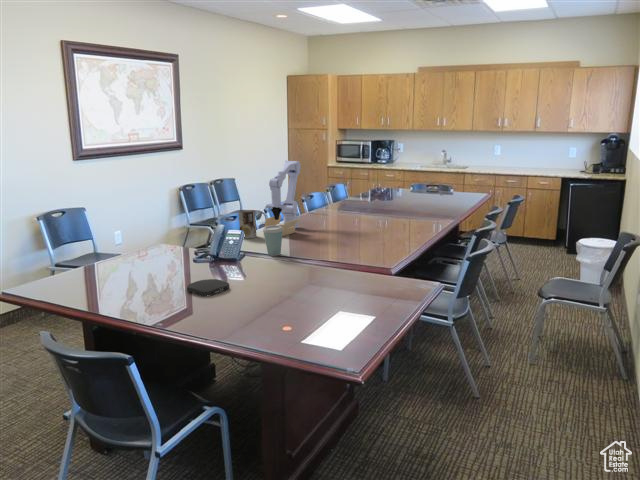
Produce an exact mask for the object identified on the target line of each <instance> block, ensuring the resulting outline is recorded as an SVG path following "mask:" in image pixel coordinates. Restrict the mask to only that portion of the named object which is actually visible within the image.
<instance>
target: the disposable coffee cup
mask: <svg viewBox="0 0 640 480" xmlns="http://www.w3.org/2000/svg"><path fill="white" fill-rule="evenodd" d="M280 225H281V224H277V225H270V226H266V227H265V226H264V227H263V229H262V232H263V236H264V240H265V245H266V249H267V255H268V256H271V257H275V256H280V255H281V251H282V241H283V236H282V231H283V228H282V226H280Z"/></svg>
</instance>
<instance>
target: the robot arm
mask: <svg viewBox="0 0 640 480" xmlns="http://www.w3.org/2000/svg"><path fill="white" fill-rule="evenodd" d="M301 168H302V165H301V161H299V160H285V161H284V162H283V167H282V169H281V171H278V172H277V173H276V174H275V176H274V177H273V178H271V179H270V180H269V184H268V185H269V187H270V188H269V189H270V191H271V192H270V194H271V203H266V204H265V205H266V206H265V207H266V208H269V209H270V208H271V209H270V211H271V212H272V214H273V217H275V220H279V216H280V215H282V216H283V224H284V223H285V222H289V221H292V220H296V219H299V217H298V215H297V213H298V203H297V202H296V201H295V195H296V189H297V183H298V177H299V176H300V173H301ZM286 175H288V176H289V181H288V185H287V193H286V197H285V198H286V199H285V200H284V201H282V194H281V193H282V191H281V190H282V189H281V188H282V186H283V184H284V181H285V179H286V178H287V176H286ZM297 228H299V221H298V222H297V223H296V225H295V229H297Z"/></svg>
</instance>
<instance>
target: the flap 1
mask: <svg viewBox="0 0 640 480" xmlns="http://www.w3.org/2000/svg"><path fill="white" fill-rule="evenodd" d="M281 218H282V214H280V216H279V220H275V217H274V216H271V217H266V218H265V222H264V223H265V224H264V227H266V226H270V225H281V224H280V223H281Z"/></svg>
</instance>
